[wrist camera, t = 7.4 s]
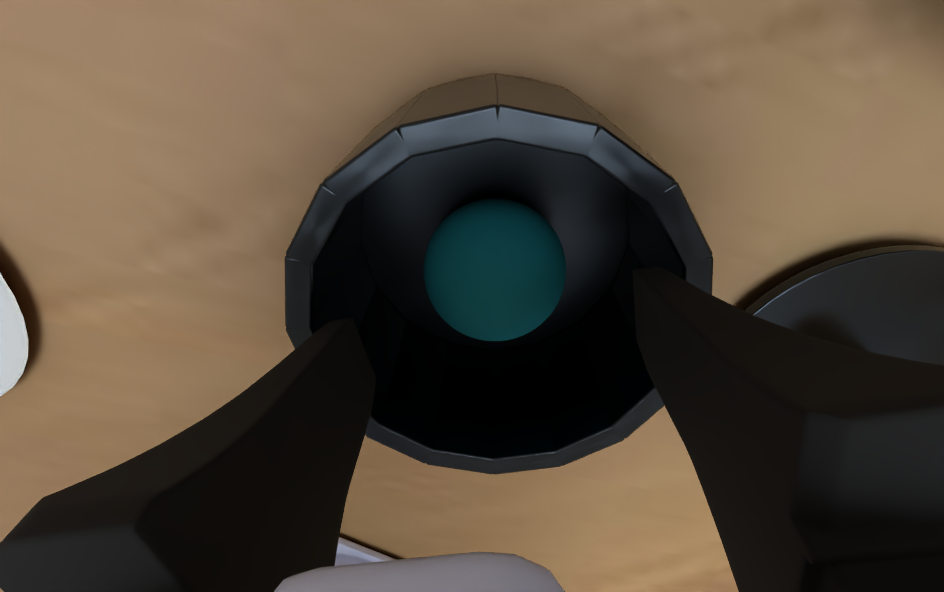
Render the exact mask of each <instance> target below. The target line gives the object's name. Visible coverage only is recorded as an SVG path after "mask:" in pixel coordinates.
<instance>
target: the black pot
mask: <svg viewBox="0 0 944 592" xmlns="http://www.w3.org/2000/svg"><path fill="white" fill-rule="evenodd" d="M483 199H507V200H512V201H516V202H519V203H522V204H524V205H526V206H528V207H530V208H532V209H533V210H535V211H536V212H538V213H539V214H540V215H541V216H542V217H544V218H545V219H546V220H547V221H548V222H549V224H550V225H551V226H552V228H553V229H554V230H555V232H556V234H557V236H558V238H559V239H560V241H561V244H562V247H563V250H564V254H565V260H566V279H565V285H564V289H563V292H562V295H561V297H560V300H559V302H558V304H557V306H556V307H555V309H554V310H553V312H552V313H551V314H550V316H549V317H548V318H547V319H546V320H545V321H544V322H543V323H542V324H541V325H539V326H538V327H537V328H536V329H534V330H532V331H531V332H529V333H527V334H525V335H523V336H520V337H517V338H514V339H510V340H505V341H485V340H480V339H475V338H472V337H469V336H467V335H465V334H462V333H460V332H459V331H457V330H455V329H454V328H453V327H451V326H450V325H449V324H448V323H447V322H446V321H445V320H444V319H443V318H442V317H441V316H440V315H439V314H438V312H437V311H436V310H435V308H434V306H433V304H432V303H431V301H430V299H429V296H428V294H427V291H426V286H425V282H424V273H423V269H424V257H425V253H426V249H427V247H428V244H429V241H430V239H431V237H432V235H433V233H434V232H435V230H436V229H437V227H438V226H439V225H440V224H441V223H442V221H443V220H444V219H445V218H446V217H447V216H448V215H450V214H451V213H452V212H454V211H455V210H457V209H458V208H460V207H462V206H464V205H466V204H469V203H471V202H474V201H478V200H483ZM655 266H660V267H662V268H664V269H666V270H667V271H669V272H671V273H673V274H675V275H676V276H678V277H680V278H682V279H683V280H685V281H687V282H689V283H690V284H692V285H694V286H696V287H698V288H699V289H701V290H703V291H705V292H707V293H709V294H710V295H712V275H713V257H712V251H711V249H710V247H709V245H708V243H707V241H706V239H705V237H704V235H703V233H702V231H701V229H700V227H699V225H698V223H697V221H696V219H695V217H694V214H693V212H692V210H691V208H690V206H689V204H688V202H687V200H686V198H685V196H684V194H683V192H682V190H681V188H680V186H679V184H678V183H677V182H676V181H675V180H674V178H673V177H672V176H671V175H670V174H669V173H668V172H667V171H665V170H664V169H663V168H662V167H661V166H660V165H659V164H658V163H657V162H655V161H654V160H653V159H652V158H651V157H650V156H649V155H648V154H647V153H646V152H644V151H643V150H642V149H641V148H640V147H639V146H638V145H637V144H636V143H635V142H633V141H632V140H631V139H630V138H629V137H628V136H627V135H626V134H625V133H624V132H622V131H621V130H620V129H619V128H618V127H617V126H616V125H614V124H613V123H612V122H610V121H609V120H608V119H606V118H605V117H604V116H602V115H601V114H600V113H598V112H597V111H596V110H594V109H593V108H592V107H591V106H590V105H588V104H587V103H585V102H583V101H582V100H581V99H579V98H578V97H577V96H575V95H574V94H573V93H571V92H570V91H569V90H567V89H564V88H563V87H559V86H555V85H551V84H547V83H544V82H540V81H537V80H533V79H529V78H522V77H515V76H507V75H502V74H496V75H495V74H490V75H485V76H478V77H471V78H465V79H460V80H456V81H453V82H450V83H446V84H443V85H440V86H437V87H432V88H428V89H427V90H425V91H422V92H421V93H420V94H419V95H417V96H416V97H415V98H413V99H412V100H411V101H409V102H408V103H406V104H405V105H403V106H402V107H400V108H399V109H398V110H397V111H396V112H395V113H394V114H392V115H391V116H390V117H388V118H387V119H386V120H384V121H383V122H382V123H381V124H379V125H378V126H377V127H375V128H374V129H373V130H372V131H371V132H370V133H369V134H368V135H367V136H366V137H365V138H364V139H363V140H362V141H361V142H360V143H359V144H358V145H357V146H356V147H355V148H354V149H353V150H352V151H351V153H350V154H349V155H348V156H347V157H346V158H345V159H344V160H343V161H342V162H341V163H340V164H339V165H338V166H337V167H336V168H335V169H334V170H333V171H332V172H331V173H330V174H329V175H328V176H327V177H326V178H325V179H324V181H323V182H322V183H321V184H320V185H319V187H318V189H317V191H316V193H315V195H314V197H313V199H312V201H311V203H310V205H309V207H308V209H307V211H306V213H305V215H304V217H303V219H302V221H301V223H300V225H299V227H298V229H297V231H296V233H295V235H294V237H293V239H292V241H291V243H290V245H289V247H288V249H287V251H286V256H285V325H286V331H287V333H288V335H289V337H290V339H291V341H292V343H293V346H294V348H295V349H296V348H297V347H299V346H300V345H301V344H302V343H303V342H304V341H306V340H307V339H308V338H309V337H310V336H311V335H313V334H314V333H315V332H316V331H318V330H319V329H320V328H321V327H323V326H324V325H325V324H327V323H328V322H330V321H334V320H340V319H345V318H351V317H352V318H353V320H354V323H355V325H356V328H357V330H358V333H359V335H360V338H361V340H362V343H363V346H364V348H365V351H366V353H367V356H368V358H369V361H370V363H371V366H372V368H373V371H374V373H375V376H376V383H375V391H374V399H373V405H372V411H371V415H370V418H369V422H368V425H367V429H366V432H365V435H366V437H368V438H370V439H373V440H375V441H377V442H379V443H381V444H383V445H386V446H388V447H390V448H392V449H394V450H396V451H399V452H401V453H403V454H405V455H407V456H409V457H412V458H414V459H416V460H418V461H420V462H422V463H427V464H428V465H434V466H441V467H447V468H454V469H460V470H467V471H473V472H480V473H487V474H503V473H511V472H519V471H528V470H536V469H545V468H553V467H560V466H564V465H566V464H568V463H571V462H573V461H575V460H578V459H580V458H583V457H585V456H587V455H590V454H592V453H594V452H597V451H599V450H602V449H604V448H606V447H609V446H611V445H613V444H616V443H618V442H621V441H623V440H624V438H627V437H628V436H629V435H631V434H632V433H633V432H634V431H635V430H636V429H638V428H639V427H640V426H641V425H642V424H643V423H645V422H646V421H647V420H648V419H649V418H650V417H651V416H653V415H654V414H655V413H656V412H657V411H658V410H660V409H661V408H662V407H663V406H664V403H663V401H662V399H661V397H660V395H659V393H658V391H657V389H656V387H655V385H654V383H653V381H652V380H651V377H650V375H649V373H648V371H647V368H646V366H645V363H644V360H643V357H642V354H641V351H640V348H639V345H638V342H637V339H636V324H635V306H634V288H633V270H637V269H643V268H649V267H655Z"/></svg>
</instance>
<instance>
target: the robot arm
mask: <svg viewBox="0 0 944 592" xmlns="http://www.w3.org/2000/svg"><path fill="white" fill-rule="evenodd" d="M633 288H634V306H635V324H636V339H637V342H638V345H639V348H640V351H641V354H642V357H643V360H644V363H645V366H646V368H647V371H648V373H649V375H650V377H651V380H652V381H653V383H654V385H655V387H656V389H657V391H658V393H659V395H660V397H661V399H662V401H663V403H664V405H665V407H666V409H667V411H668V413H669V415H670V417H671V419H672V421H673V423H674V425H675V427H676V429H677V431H678V433H679V435H680V436H681V438H682V440H683V442H684V444H685V447H686V449H687V451H688V453H689V455H690V458H691V460H692V462H693V465H694V467H695V470H696V473H697V475H698V478H699V481H700V483H701V486H702V489H703V491H704V494H705V496H706V499H707V502H708V505H709V507H710V510H711V513H712V516H713V518H714V521H715V524H716V527H717V530H718V532H719V535H720V538H721V541H722V544H723V546H724V549H725V552H726V555H727V558H728V561H729V564H730V567H731V570H732V573H733V576H734V579H735V582H736V585H737V587H738V590H739V592H944V365H937V364H930V363H923V362H918V361H912V360H907V359H902V358H898V357H893V356H888V355H883V354H878V353H873V352H869V351H865V350H860V349H856V348H852V347H848V346H844V345H841V344H837V343H834V342H830V341H826V340H823V339H819V338H816V337H812V336H809V335H806V334H803V333H800V332H797V331H794V330H791V329H788V328H786V327H783V326H780V325H777V324H775V323H772V322H769V321H767V320H764V319H762V318H759V317H757V316H754V315H752V314H750V313H748V312H746V311H743V310H741V309H739V308H737V307H735V306H732V305H730V304H728V303H726V302H724V301H722V300H720V299H718V298H716V297H714V296H712V295H710V294H709V293H707V292H705V291H703V290H701V289H699V288H698V287H696V286H694V285H692V284H690V283H689V282H687V281H685V280H683V279H682V278H680V277H678V276H676V275H675V274H673V273H671V272H669V271H667V270H666V269H664V268H662V267H660V266H655V267H649V268H643V269H637V270H633ZM375 383H376V376H375V373H374V371H373V368H372V366H371V363H370V361H369V358H368V356H367V353H366V351H365V348H364V346H363V343H362V340H361V338H360V335H359V333H358V330H357V328H356V325H355V323H354V320H353V318H352V317H351V318H345V319H340V320H334V321H330V322H328V323H327V324H325V325H324V326H323V327H321V328H320V329H319V330H318V331H316V332H315V333H314V334H313V335H311V336H310V337H309V338H308V339H307V340H306V341H304V342H303V343H302V344H301V345H300V346H299V347H297V348H296V349H295V350H294V351H293V352H292V353H290V354H289V355H288V356H287V357H286V358H285V359H283V360H282V361H281V362H280V363H279V364H278V365H276V366H275V367H274V368H273V369H271V370H270V371H269V372H268V373H266V374H265V375H264V376H263V377H261V378H260V379H259V380H258V381H256V382H255V383H254V384H253V385H251V386H250V387H249V388H248V389H246V390H245V391H244V392H242V393H241V394H240V395H238V396H237V397H235V398H234V399H233V400H231V401H230V402H228V403H227V404H225V405H224V406H222V407H221V408H219V409H218V410H216V411H215V412H213V413H212V414H210V415H209V416H207V417H206V418H204V419H203V420H201V421H199V422H198V423H196V424H194V425H192V426H191V427H189V428H187V429H186V430H184V431H182V432H180V433H179V434H177V435H175V436H174V437H172V438H170V439H169V440H167V441H165V442H163V443H161V444H160V445H158V446H156V447H154V448H152V449H150V450H148V451H146V452H144V453H142V454H140V455H138V456H136V457H134V458H132V459H130V460H128V461H126V462H124V463H122V464H120V465H118V466H116V467H114V468H111V469H109V470H107V471H105V472H103V473H101V474H98V475H96V476H93V477H91V478H89V479H86V480H84V481H82V482H79V483H77V484H75V485H72V486H70V487H68V488H65V489H63V490H61V491H58V492H56V493H53V494H51V495H48V496H46V497H44V498H42V499H41V500H40V501H39V502H38V503H37V504H36V505H35V506H34V507H33V508H32V509H31V510H30V511H29V512H28V513H27V515H26V516H25V517H24V518H23V519H22V520H21V521H20V522H19V523H18V524H17V525H16V526H15V528H14V529H13V530H12V531H11V532H10V533H9V534H8V535H7V536H6V537H5V538H4V540H3V541H2V542H1V543H0V588H1V589H2V590H3V591H4V592H565V591H564V590H563V588H562V587H561V586H560V584H559V583H558V581H557V580H556V579H555V577H554V576H553V575H552V573H551V572H550V571H549V570H548V569H546V568H545V567H543V566H541V565H539V564H536V563H534V562H532V561H529V560H527V559H525V558H522V557H520V556H518V555H516V554H507V553H490V552H471V553H461V554H451V555H441V556H431V557H420V558H410V559H400V560H396V559H394V558H391V557H389V556H386V555H383V554H381V553H378V552H376V551H373V550H371V549H368V548H366V547H363V546H361V545H358V544H356V543H353V542H351V541H348V540H346V539H343V538H341V537H339V534H340V529H341V523H342V518H343V512H344V507H345V502H346V498H347V494H348V490H349V486H350V482H351V479H352V475H353V472H354V469H355V466H356V462H357V459H358V456H359V452H360V449H361V446H362V442H363V439H364V436H365V432H366V429H367V425H368V422H369V418H370V415H371V411H372V405H373V399H374V391H375Z"/></svg>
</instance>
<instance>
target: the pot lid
mask: <svg viewBox="0 0 944 592" xmlns="http://www.w3.org/2000/svg"><path fill="white" fill-rule="evenodd" d="M744 311H746V312H748V313H750V314H752V315H754V316H757V317H759V318H762V319H764V320H767V321H769V322H772V323H775V324H777V325H780V326H783V327H786V328H788V329H791V330H794V331H797V332H800V333H803V334H806V335H809V336H812V337H816V338H819V339H823V340H826V341H830V342H834V343H837V344H841V345H844V346H848V347H852V348H856V349H860V350H865V351H869V352H873V353H878V354H883V355H888V356H893V357H898V358H902V359H907V360H912V361H918V362H923V363H930V364H937V365H944V248H941V247H933V246H925V245H897V246H888V247H879V248H873V249H868V250H863V251H859V252H854V253H850V254H847V255H844V256H840V257H837V258H834V259H831V260H828V261H825V262H823V263H821V264H818V265H816V266H814V267H811V268H809V269H806V270H804V271H802V272H800V273H799V274H797V275H795V276H793V277H791V278H789V279H787V280H786V281H784V282H782V283H781V284H779V285H777V286H776V287H774V288H773V289H771V290H770V291H768V292H767V293H765V294H764V295H763V296H761V297H760V298H759V299H758V300H756V301H755V302H754V303H753V304H751V305H750V306H749V307H748V308H746V309H745V310H744Z"/></svg>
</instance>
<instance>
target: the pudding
mask: <svg viewBox="0 0 944 592" xmlns="http://www.w3.org/2000/svg"><path fill="white" fill-rule="evenodd" d="M27 359H28V336H27V331H26V326H25V322H24V318H23V315H22V313H21V311H20V308H19V306H18V304H17V301H16V299H15V297H14V295H13V293H12V291H11V290H10V288H9V286H8V285H7V283H6V282H5V280H4V278H3V277H2V275H1V274H0V397H1V396H2V395H3V394H5V393H6V392H7V391H8V390H10V389H11V388H12V387H14V385H15V384H16V382H17V381H18V380H19V378H20V377H21V375H22V374H23V371H24V368H25V365H26V362H27Z"/></svg>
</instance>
